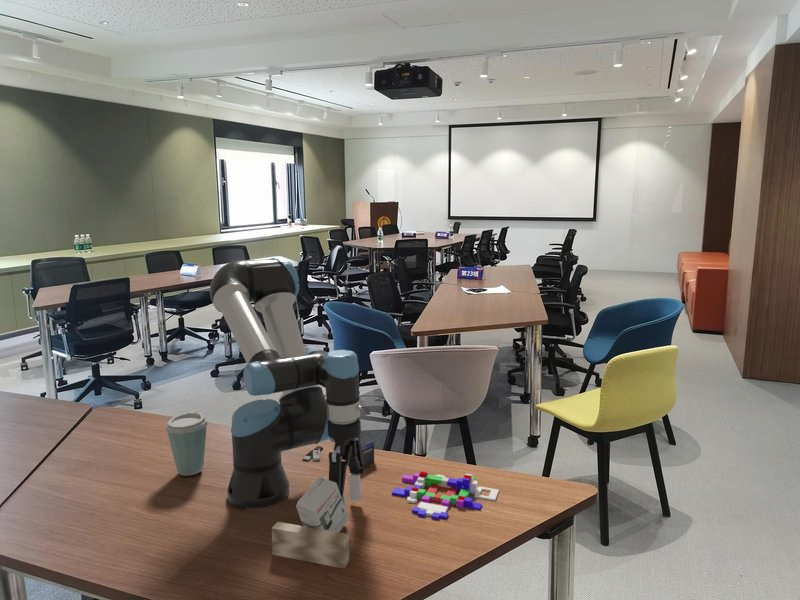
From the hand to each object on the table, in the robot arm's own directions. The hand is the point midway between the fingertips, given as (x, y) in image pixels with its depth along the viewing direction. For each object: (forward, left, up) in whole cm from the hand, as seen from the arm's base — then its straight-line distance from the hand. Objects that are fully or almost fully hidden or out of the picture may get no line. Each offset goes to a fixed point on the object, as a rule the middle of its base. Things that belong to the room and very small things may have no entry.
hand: (348, 510), depth 133 cm
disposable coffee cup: (-49, +8, -1) cm, 50 cm away
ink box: (0, -10, 0) cm, 10 cm away
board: (-1, -18, -1) cm, 18 cm away
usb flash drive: (-20, +27, -2) cm, 34 cm away
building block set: (+20, +14, -2) cm, 24 cm away
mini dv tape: (-5, +24, -1) cm, 24 cm away
